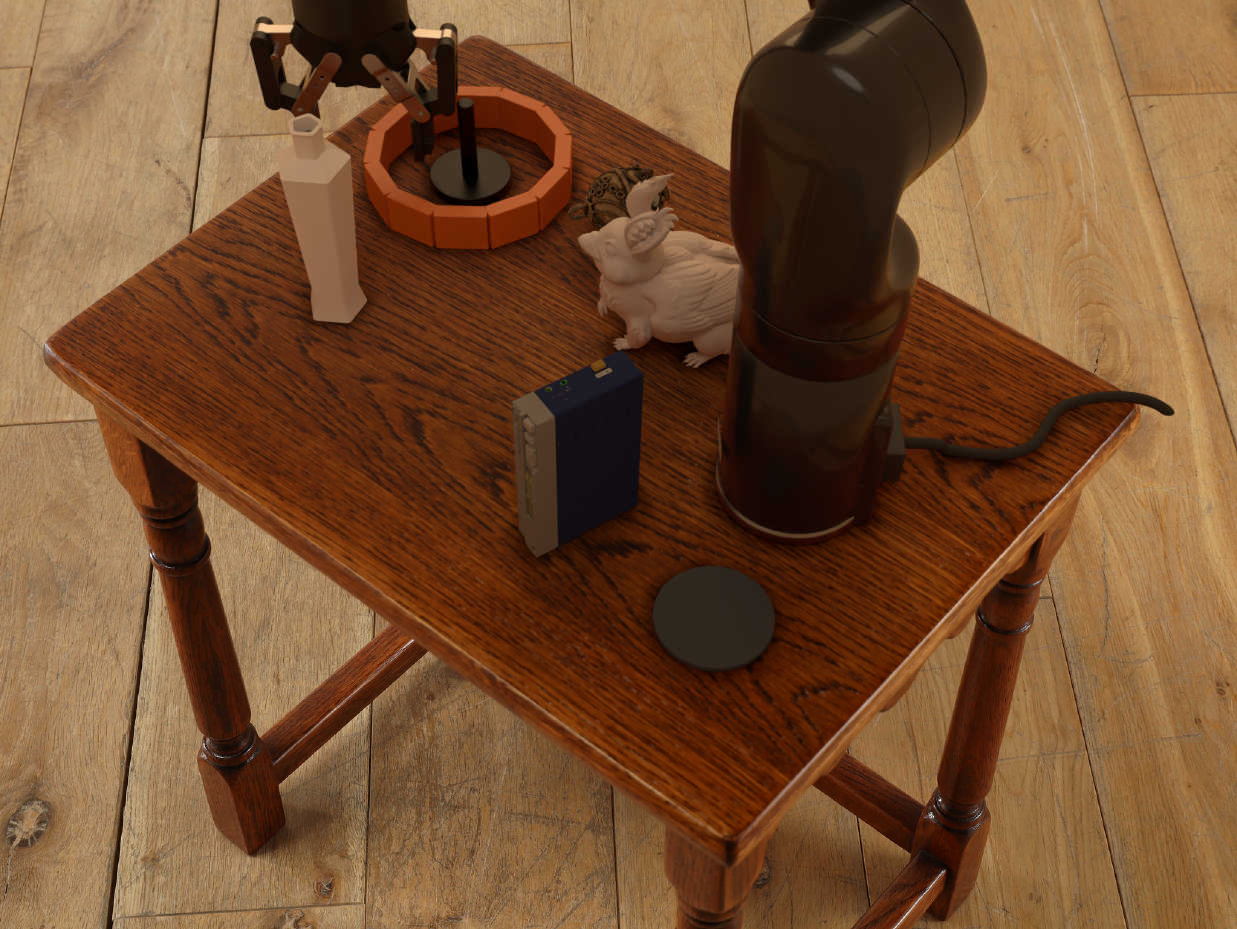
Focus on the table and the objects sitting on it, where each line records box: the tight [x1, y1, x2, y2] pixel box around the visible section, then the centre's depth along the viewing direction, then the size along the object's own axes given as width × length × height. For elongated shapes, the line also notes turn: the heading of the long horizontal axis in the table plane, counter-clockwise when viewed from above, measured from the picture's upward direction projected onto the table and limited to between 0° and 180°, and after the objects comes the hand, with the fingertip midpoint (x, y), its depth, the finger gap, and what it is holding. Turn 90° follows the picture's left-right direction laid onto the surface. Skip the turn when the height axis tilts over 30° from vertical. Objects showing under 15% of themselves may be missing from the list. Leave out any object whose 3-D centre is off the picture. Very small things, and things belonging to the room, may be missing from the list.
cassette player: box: [511, 349, 645, 559], centre depth 85 cm, size 7×2×12 cm, turn 124°
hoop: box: [362, 85, 573, 250], centre depth 108 cm, size 15×15×3 cm
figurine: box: [577, 172, 740, 369], centre depth 94 cm, size 8×15×13 cm, turn 95°
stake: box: [428, 98, 513, 206], centre depth 106 cm, size 6×6×7 cm
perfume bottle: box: [276, 114, 368, 324], centre depth 95 cm, size 5×4×15 cm
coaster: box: [652, 565, 776, 673], centre depth 85 cm, size 7×7×1 cm
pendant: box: [567, 162, 672, 231], centre depth 104 cm, size 5×8×5 cm, turn 113°
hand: (369, 152), depth 107 cm, fingers open, 7 cm apart
